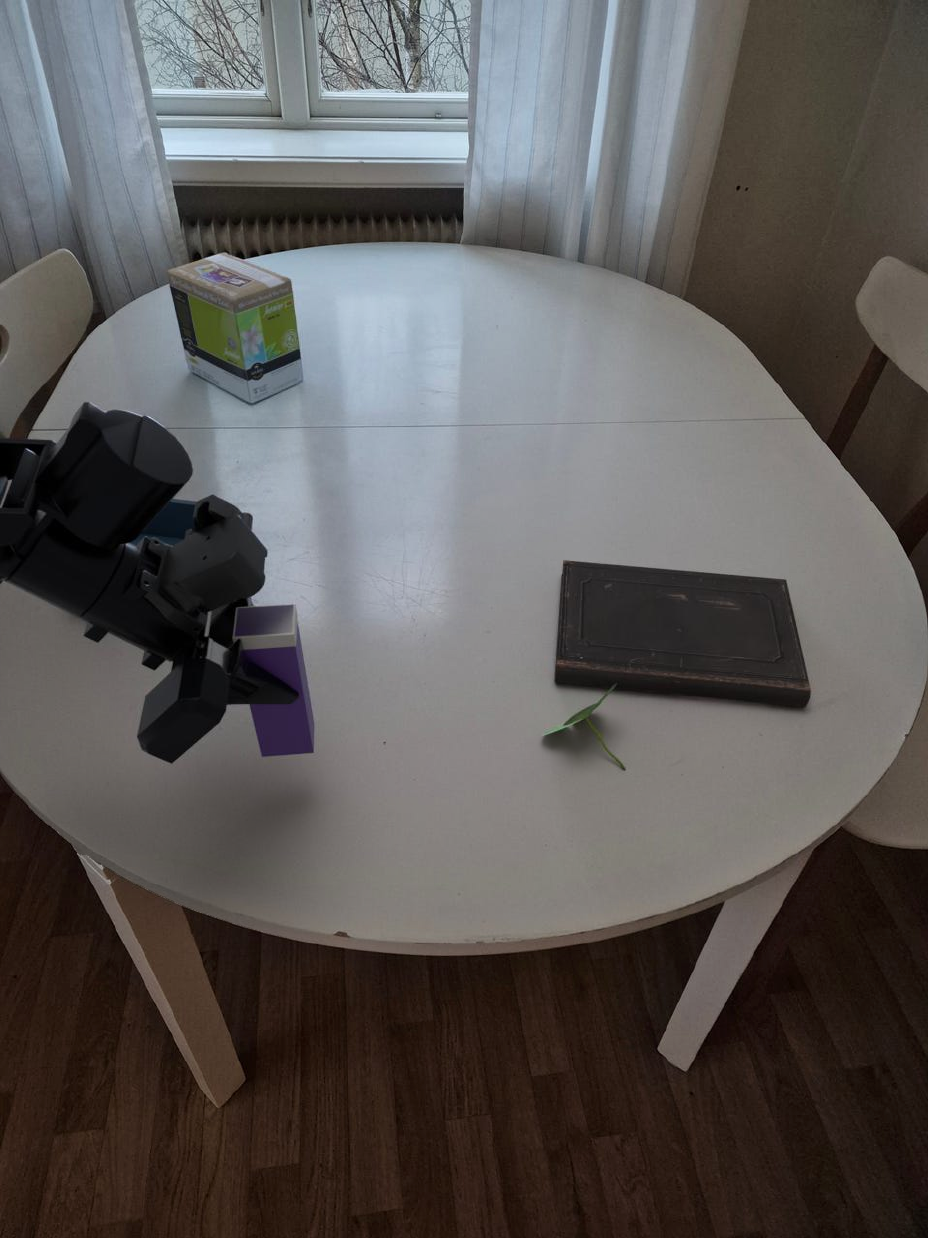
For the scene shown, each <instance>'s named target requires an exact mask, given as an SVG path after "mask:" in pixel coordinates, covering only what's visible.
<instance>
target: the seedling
mask: <svg viewBox="0 0 928 1238" xmlns="http://www.w3.org/2000/svg"><path fill="white" fill-rule="evenodd" d="M616 684H617V683H616ZM616 684H615V685H614V686H613V687H612V688H609V690H607V692H606V693H605V694H604V695H603V696H602V697H601V698H600V699H599V700H598V701H597V702H596V703H592V704H591V705H589V706H586V707H584V708H583V709H581V710H579V711H577V713H575V714H573V715H572V716H571V717H569V718H568V719H567V720H566V721H565V722H564V723H562V724H559V725H557V726H555V727H553V728H551V729H549V730H547V731H545V732H544V733H542V734H541V736H543V737H544V736H547V735H549V734H552V733H555V732H558V731H560V730H563V729H565V728H568V727H570V726H572V725H574V724H576V723H579V722H581V721H582V720H586V722H587V723H588V725H589V726H590V728H591V729H592V731H593V732H594V734H595V735H596V737H597V738H598V740H599V741H600V743H601V745H602V747H603V748H604V750H605V751H606V753H607V754H608V755H609V756H610V757H611V758H613V760H615V761H616V762H617V763H618V765H619V766H620V767H621V769H622V770H623V771H625V770H626V767H625V766H624V763H622V762H621V760H620V759H619V758H618V757H617V756H616V755H614V754H613V753H612V752H611V751H610V750H609V748H608V747H607V746H606V744H605V742H604V740H603V738H602V736H601V735H600V733H599V732H598V730H597V729H596V728H595V726H594V725H593V723H592V722H591V721H590V719H589V716H590V715H591V714H592V713H593V712H594V711H595V710H597V709H598V708H599V707H600V706H601V705H603V703H604V700H605V699H606V698H607V696H609V695H610V694H611V692H612V691H613V690H614V689H615V688H614V687H615V686H616Z"/></svg>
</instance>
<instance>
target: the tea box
mask: <svg viewBox="0 0 928 1238" xmlns="http://www.w3.org/2000/svg"><path fill="white" fill-rule="evenodd" d="M166 275H167V279H168V284H169V285H168V286H169V290H170V295H171V298H172V302H173V307H174V312H175V316H176V320H177V325H178V330H179V335H180V339H181V342H182V347H183V352H184V358H185V361H186V364H187V369H188V371H189V372H192V373H193V374H195V375H197V376H199V377H201V378H202V379H204V380H207V381H208V382H210V383H212V384H214V385H216V386H217V387H220V388H221V389H223V390H225V391H227V392H228V393H231V395H232V394H233V395H234V396H236V397H238V398H240V399H242V400H243V401H246V402H247V403H249V404H255V403H257V402H259V401H261V400H264V399H267V398H269V397H271V396H273V395H275V394H277V393H280V392H282V391H284V390H286V389H289V388H291V387H293V386H295V385H297V384H299V383H301V382H303V381H304V371H303V363H302V362H303V361H302V355H301V354H302V353H301V346H300V345H301V344H300V338H299V332H298V321H297V313H296V307H295V298H294V290H293V284H292V283H293V282H292V279H291V278H289V277H288V276H285V275H282V274H280V273H277V272H275V271H272V270H269V269H267V268H265V267H261V266H260V265H257V264H254V263H252V262H250V261H248V260H244V259H242V258H239V257H236V256H234V255H231V254H229V253H227V252H226V251H225V252H224V251H223V252H220V253H217V254H214V255H210V256H208V257H204V258H202V259H198V260H195V261H193V262H190V263H187V264H183V265H180V266H177V267H173V268H170V269H168V270H166Z"/></svg>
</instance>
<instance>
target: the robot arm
mask: <svg viewBox="0 0 928 1238" xmlns="http://www.w3.org/2000/svg"><path fill="white" fill-rule="evenodd" d="M193 473H194V468H193V464H192V460H191V458H190V456H189V453H188V452H187V450H186V449H185V448H184V446H183V445H182V443H181V442H180V441H179V440H178V439H177V437H175V435H174V434H173V433H172V432H171V431H169V430H168V429H167V428H166V427H165V426H164V425H162V424H161V423H159V422H158V421H157V420H155V419H153V418H152V417H150V416H149V415H147V414H143V415H140V414H138V413H136V412H133V411H130V410H125V409H109V410H107V411H105V410H103V409H101V408H100V407H98V406H96V405H95V404H93V403H92V402H90V401H84V402H83V403H82V404H81V406H80V407H79V408H78V409H77V411H75V413H74V415H73V416H72V418H71V422H70V425H69V427H68V428H67V429H66V431H65V432H64V434H63V435H62V436H61V437H60V438H59V440H58V441H57V442H56V441H55V440H52V439H36V438H14V437H12V438H11V437H0V585H2V583H3V582H6V583H8V584H10V585H11V586H13V587H15V588H18V590H19V589H20V590H22V591H24V592H26V593H28V594H29V595H31V596H34V597H36V598H38V599H40V600H41V601H44V602H45V603H47V604H50V605H52V606H53V607H56V608H57V609H60V610H61V611H64V612H66V613H67V614H70V615H72V616H74V617H76V618H77V619H79V620H82V621H83V622H85V623H86V626H85V629H84V633H83V637H84V638H87V639H88V640H90V641H92V642H95V643H97V644H99V643H100V642H101V641H102V640H103V638H105V637H106V636H107V635H108V634H109V635H112V636H113V637H116V638H118V639H120V640H122V641H124V642H125V643H128V644H130V645H131V646H134V647H136V648H138V649H140V650H141V651H143V654H142V659H141V663H140V664H141V666H144V667H146V668H148V669H150V670H152V671H156V670H157V669H158V668H159V667H160V666H162V665H163V664H164V663H165V662H166V661H167V662H169V663H172V664H171V669H170V672H169V673H168V674H167V675H166V676H165V677H164V678H163V679H162V680H161V681H159V683H158V684H156V685H155V686H154V687H153V688H152V689H151V690H150V691H149V692H148V693H146V695H145V696H144V701H143V705H142V711H141V715H140V720H139V725H138V729H137V734H136V738H137V741H138V744H139V746H140V749H141V751H143V752H144V753H147V754H148V755H150V756H153V757H155V758H157V759H159V760H161V761H164V762H166V763H169V764H171V765H172V764H174V763H175V762H176V761H177V760H178V759H179V758H180V757H182V756H183V755H185V753H186V752H188V751H189V750H190V749H191V748H192V747H193V746H195V745H196V744H197V743H198V742H199V741H200V740H201V739H203V738H204V737H206V735H208V733H209V732H211V731H212V730H213V729H214V728H215V727H216V726H218V725H219V724H220V723H221V722H222V719H223V717H224V716H225V714H226V712H227V708H228V707H227V706H230V705H235V706H236V705H249V704H292V703H293V702H295V701H296V700H297V699H298V698H299V693H298V692H297V691H296V690H294V689H293V688H292V687H290V686H289V685H288V684H287V683H285V682H284V681H282V680H280V679H279V678H277V677H275V676H274V675H272V674H271V673H269V672H267V671H266V670H264V669H262V668H261V667H259V666H257V665H256V664H254V663H252V662H251V661H249V660H248V659H247V658H246V655H245V651H244V647H243V644H242V640H241V639H240V638H239V639H238V640H237V641H235V642H234V643H233V639H232V637H233V629H234V621H235V613H236V608H237V607H250V606H255V604H254V603H253V598H252V597H253V596H255V595H256V594H258V593H259V592H260V591H261V590H262V589H263V587H264V585H265V583H266V573H265V564H266V558H267V557H268V552H269V551H268V549H267V548H266V547H265V545H264V544H263V543H262V542H261V540H260V539H259V537H257V536H256V533H254V531H253V522H254V516H253V515H252V514H251V513H249V512H242V511H241V509H239V507H238V506H237V505H234V504H233V503H231V502H229V501H227V500H225V499H223V498H221V497H219V496H218V495H215V494H209V495H208V496H206V497H204V498H202V499H199V500H197V501H196V504H195V509H194V514H193V523H194V528H195V533H194V532H193V531H192V529H189V530H187V531H186V534H185V539H184V540H183V541H181V542H179V543H177V544H176V545H174V546H171V545H168V544H165V543H163V542H162V541H160V540H158V539H156V538H151V539H150V538H148V537H146V536H145V537H144V538H143V539H142V540H141V541H140V542H139V543H138V544H137V545H136V546H134V545H133V544H131V542H132V541H134V540H136V539H137V538H138V537H139V536H140V534H141V533H142V532H143V531H144V530H145V529H146V528H147V527H148V525H149V524H150V523H151V522H152V521H153V520H154V519H155V518H156V517H157V515H158V514H159V513H160V512H161V511H162V510H163V509H164V508H165V507H166V505H167V504H168V503H169V502H170V501H171V500H172V499H175V497H176V496H177V495H178V493H179V492H180V491H181V490H182V489H183V488H184V487H185V485H186V484H187V483H188V482H189V481H190V480H191V478H192V476H193ZM9 481H11V482H10V485H9ZM8 486H9V487H8ZM7 488H8V490H7Z"/></svg>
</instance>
